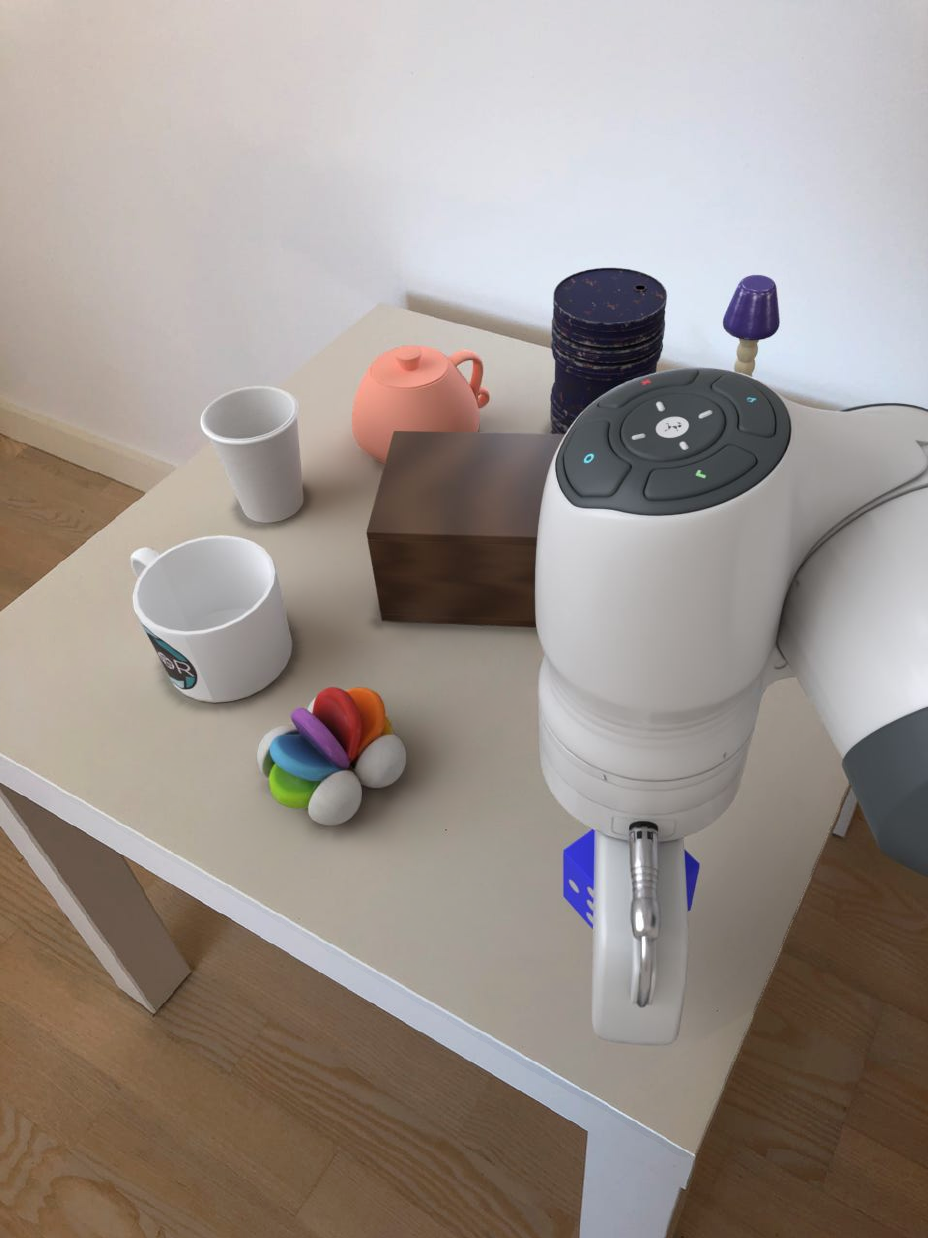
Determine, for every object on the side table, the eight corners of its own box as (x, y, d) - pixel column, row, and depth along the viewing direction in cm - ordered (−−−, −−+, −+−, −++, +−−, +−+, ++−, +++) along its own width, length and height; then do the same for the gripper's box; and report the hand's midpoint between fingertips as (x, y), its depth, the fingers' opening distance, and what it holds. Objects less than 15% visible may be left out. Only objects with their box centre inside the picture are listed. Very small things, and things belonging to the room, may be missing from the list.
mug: (324, 638, 75) (306, 565, 70) (232, 729, 70) (204, 657, 64) (204, 578, 81) (178, 505, 75) (110, 657, 75) (74, 585, 70)
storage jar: (573, 480, 87) (578, 333, 77) (534, 422, 94) (534, 280, 83) (670, 454, 89) (689, 308, 78) (626, 400, 96) (638, 258, 85)
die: (623, 965, 49) (628, 922, 46) (561, 895, 52) (561, 850, 49) (692, 909, 51) (702, 864, 48) (628, 845, 54) (633, 797, 50)
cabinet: (568, 523, 83) (571, 433, 76) (562, 628, 75) (565, 538, 68) (405, 519, 85) (393, 430, 78) (381, 621, 76) (365, 531, 69)
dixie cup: (210, 506, 88) (180, 415, 81) (280, 463, 92) (258, 373, 84) (265, 545, 84) (239, 453, 76) (336, 499, 87) (318, 407, 80)
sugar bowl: (338, 429, 95) (321, 337, 88) (464, 390, 99) (458, 299, 91) (383, 497, 87) (369, 403, 80) (518, 452, 91) (516, 358, 83)
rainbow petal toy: (427, 765, 67) (418, 701, 61) (319, 854, 62) (299, 794, 57) (351, 700, 71) (336, 635, 66) (245, 779, 67) (220, 717, 61)
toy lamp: (755, 463, 88) (790, 296, 75) (703, 461, 88) (730, 294, 76) (752, 433, 91) (785, 267, 79) (703, 430, 91) (728, 266, 79)
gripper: (739, 977, 33) (698, 1101, 43) (702, 571, 47) (678, 736, 57) (558, 964, 34) (559, 1088, 44) (574, 568, 48) (572, 731, 58)
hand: (626, 886), depth 51 cm, fingers closed on die, 7 cm apart
